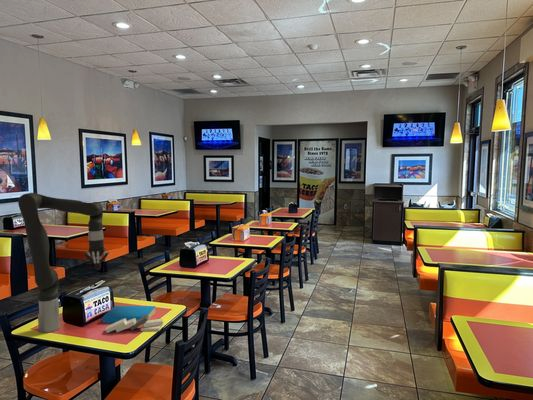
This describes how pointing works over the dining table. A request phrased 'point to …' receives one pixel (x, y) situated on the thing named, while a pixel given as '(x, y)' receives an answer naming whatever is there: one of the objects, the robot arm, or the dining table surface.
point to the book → (128, 313)
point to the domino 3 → (140, 322)
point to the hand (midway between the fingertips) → (97, 269)
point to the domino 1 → (116, 325)
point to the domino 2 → (127, 325)
